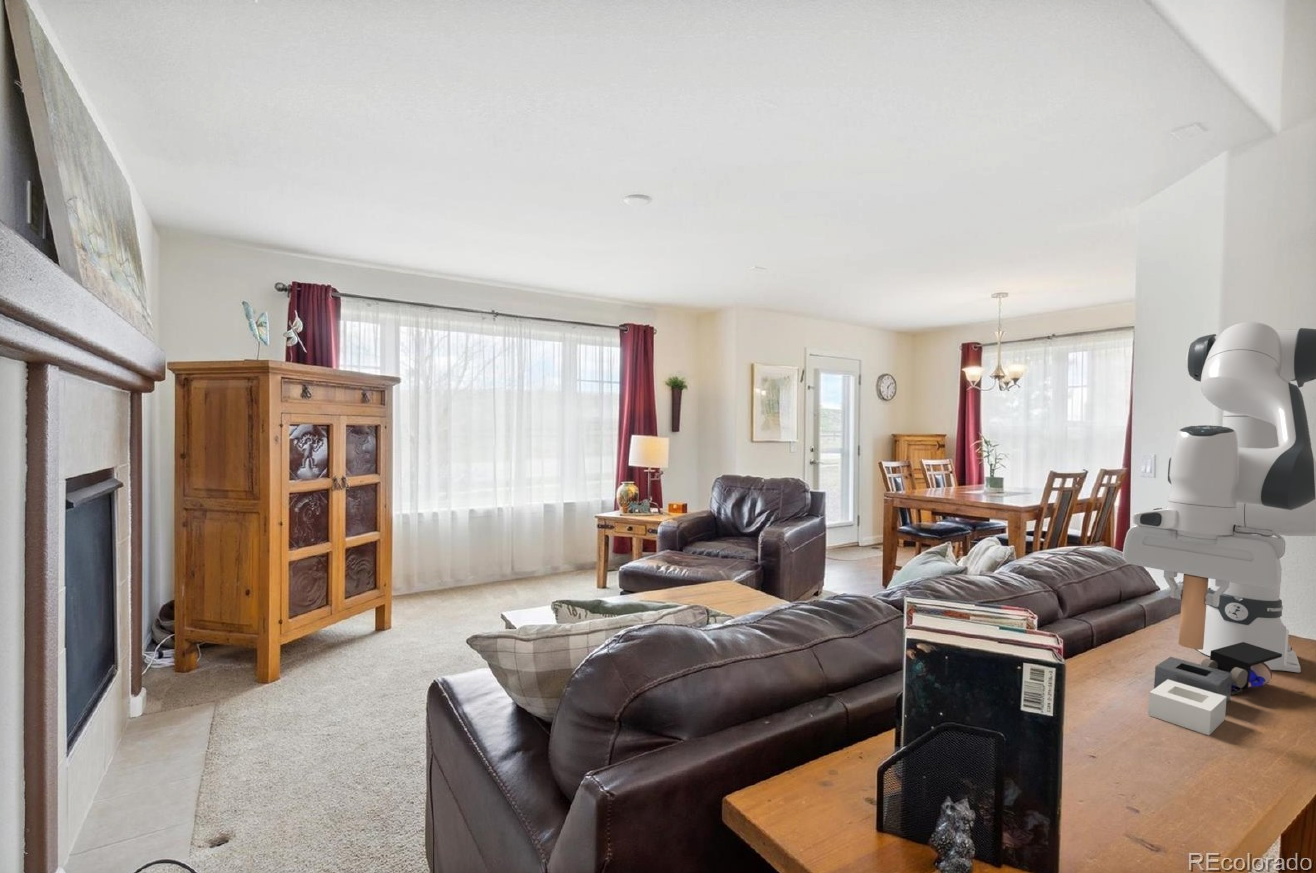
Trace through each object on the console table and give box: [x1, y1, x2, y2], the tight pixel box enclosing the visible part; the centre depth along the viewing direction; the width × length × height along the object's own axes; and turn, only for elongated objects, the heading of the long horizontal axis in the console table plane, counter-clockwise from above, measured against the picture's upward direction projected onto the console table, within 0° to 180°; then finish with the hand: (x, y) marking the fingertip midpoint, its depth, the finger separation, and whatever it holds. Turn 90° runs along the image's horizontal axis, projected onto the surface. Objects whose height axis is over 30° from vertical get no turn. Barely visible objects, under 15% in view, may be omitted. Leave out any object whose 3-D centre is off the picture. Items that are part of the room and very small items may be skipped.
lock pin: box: [1178, 574, 1210, 651], centre depth 105 cm, size 3×3×12 cm
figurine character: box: [1200, 642, 1282, 695], centre depth 119 cm, size 7×8×15 cm
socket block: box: [1147, 680, 1227, 736], centre depth 106 cm, size 10×8×4 cm
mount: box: [1153, 656, 1232, 705], centre depth 114 cm, size 9×9×5 cm
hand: (1194, 601), depth 105 cm, fingers closed on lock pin, 3 cm apart
